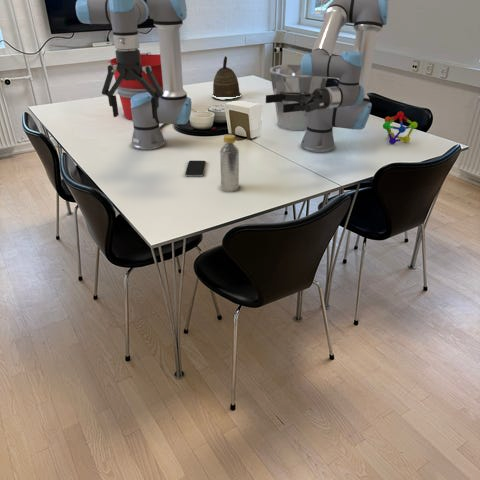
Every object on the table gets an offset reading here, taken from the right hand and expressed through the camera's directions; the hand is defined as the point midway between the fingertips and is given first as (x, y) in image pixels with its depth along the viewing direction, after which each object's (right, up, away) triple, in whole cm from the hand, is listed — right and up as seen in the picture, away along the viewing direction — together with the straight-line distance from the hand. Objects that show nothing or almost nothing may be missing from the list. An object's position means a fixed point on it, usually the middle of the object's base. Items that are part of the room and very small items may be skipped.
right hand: (274, 103), depth 157 cm
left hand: (-48, -7, -8) cm, 49 cm away
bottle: (-16, -29, +10) cm, 35 cm away
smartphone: (-30, -19, +25) cm, 44 cm away
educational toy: (+62, -2, +53) cm, 82 cm away
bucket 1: (-65, +22, +91) cm, 114 cm away
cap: (-16, -12, 0) cm, 20 cm away
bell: (-21, +42, +124) cm, 133 cm away
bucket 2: (+17, +12, +76) cm, 79 cm away
